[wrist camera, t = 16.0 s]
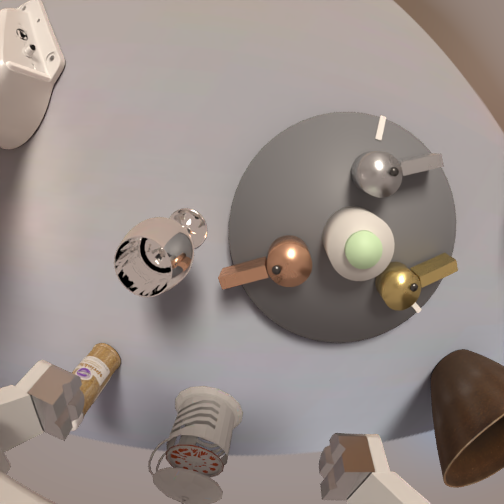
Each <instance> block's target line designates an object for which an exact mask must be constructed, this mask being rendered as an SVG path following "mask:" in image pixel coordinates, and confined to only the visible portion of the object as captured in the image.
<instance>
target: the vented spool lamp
mask: <svg viewBox="0 0 504 504" xmlns="http://www.w3.org/2000/svg"><path fill="white" fill-rule="evenodd" d="M175 409H176V411H177V413H178V415H177V417H176V420H175V423H174V425H173V428H172V431H171V433H170V436H169V438H168V439H166V440H164V441H163V442H161V443H160V444H159V445H158V446H157V447H156V448H155V450H154V451H153V453H152V455H151V457H150V460H149V466H148V467H149V472H150V473H151V474H152V475H153V482H154V484H155V485H156V486H157V487H158V489H159V490H160V491H162V492H163V493H164V494H165V495H166V496H168V497H170V498H172V499H174V500H177V501H179V502H181V503H182V504H210V503H214V502H217V501H218V500H220V499H221V498H222V493H223V491H222V490H221V488H220V486H219V485H218V483H217V482H215V481H214V480H212V479H211V478H210V477H213V476H216V475H219V474H220V473H221V472H222V471H223V467H224V465H225V464H226V463H227V459H228V453H229V448H230V442H231V437H232V431H233V429H234V428H235V427H236V426H237V425H238V424H239V423H240V422H241V420H242V416H243V412H242V409H241V407H240V404H239V403H238V402H237V401H236V400H235V399H234V398H233V397H232V396H231V395H229V394H227V393H225V392H223V391H221V390H219V389H216V388H211V387H206V386H199V387H190V388H188V389H186V390H184V391H182V392H180V393H179V395H178V396H177V398H176V399H175ZM182 421H183V422H182ZM184 424H185V427H184V428H181V429H180V427H181V426H182V425H184ZM179 435H182V436H181V439H180V442H179V444H177V445H175V446H174V444H175V441H176V438H177V436H179ZM198 437H200V438H202V439H204V440H207V441H211V442H214V443H215V444H207V443H204V442H202V441H200V440H198V439H197V438H198ZM166 441H168V442H167V451H166V452H165V453H164V454H163V455H162V457H161V458H160V460H159V462H158V464H157V467H156V473H155V474H153V473H152V471H151V467H150V463H151V460H152V457H153V455H154V453H155V451H156V450H157V449H158V448H159V447H160V446H161V445H162V444H163V443H165V442H166ZM196 443H198V444H200V445H202V446H205V447H209V448H213V447H218V446H220V448H219V449H216V450H212V451H209V450H207V449H204V448H202V447H199V446H196ZM222 449H223V451H222V452H221V453H220V454H218V455H215V454H214V453H217V452H219V451H220V450H222ZM223 453H226V454H225V455H224V456H223V457H222V458H221V459H220V458H219V457H220V456H221V455H222V454H223ZM165 454H166V459H167V461H168V462H169V463H170V465H171V466H172V467H173V468H170V467H169V468H164V469H160V470H158V467H159V465H160V462H161V460H162V459H163V457H164V455H165Z"/></svg>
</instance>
